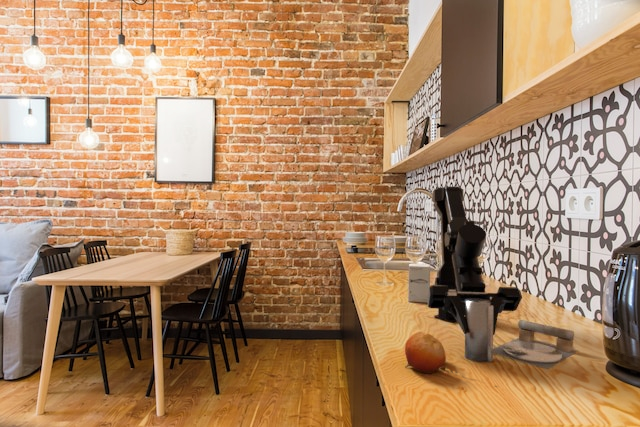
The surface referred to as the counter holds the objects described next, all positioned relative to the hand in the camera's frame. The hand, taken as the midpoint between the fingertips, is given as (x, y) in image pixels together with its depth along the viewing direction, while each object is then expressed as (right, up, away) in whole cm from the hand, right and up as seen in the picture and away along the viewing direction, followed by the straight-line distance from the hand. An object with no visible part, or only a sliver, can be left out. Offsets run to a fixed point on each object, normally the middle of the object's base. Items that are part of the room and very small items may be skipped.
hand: (479, 333), depth 79 cm
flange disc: (+13, -5, +4) cm, 14 cm away
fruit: (-11, -7, -1) cm, 14 cm away
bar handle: (+19, -5, +9) cm, 21 cm away
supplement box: (+3, -6, +58) cm, 59 cm away
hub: (0, -7, +1) cm, 7 cm away
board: (+14, -7, +5) cm, 16 cm away
